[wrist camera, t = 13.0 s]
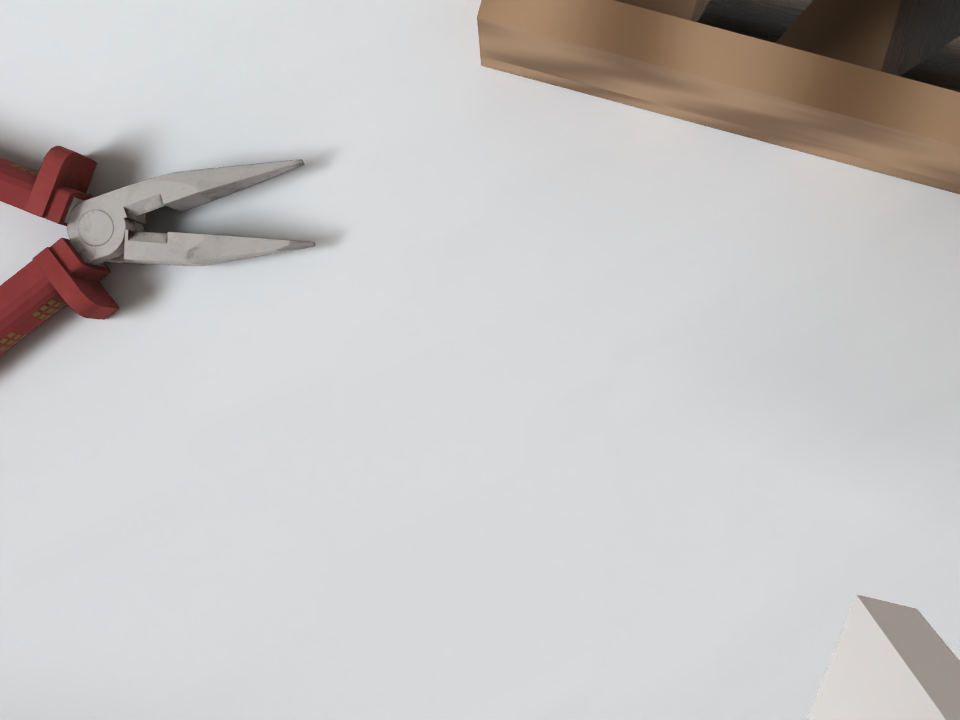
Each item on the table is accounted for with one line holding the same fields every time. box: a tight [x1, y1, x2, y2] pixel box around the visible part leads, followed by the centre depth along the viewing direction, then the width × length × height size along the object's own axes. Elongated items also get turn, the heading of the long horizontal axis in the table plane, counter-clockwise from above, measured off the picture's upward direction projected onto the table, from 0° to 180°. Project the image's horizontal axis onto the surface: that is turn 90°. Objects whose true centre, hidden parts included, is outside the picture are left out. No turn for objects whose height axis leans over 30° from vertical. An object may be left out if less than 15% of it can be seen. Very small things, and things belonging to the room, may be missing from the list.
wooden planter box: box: [477, 0, 960, 194], centre depth 28 cm, size 22×8×4 cm, turn 75°
